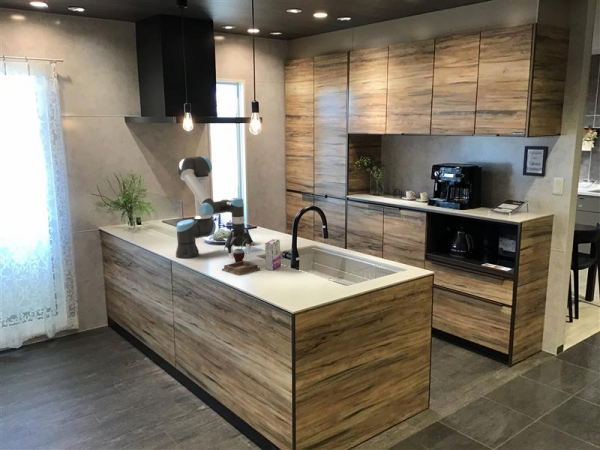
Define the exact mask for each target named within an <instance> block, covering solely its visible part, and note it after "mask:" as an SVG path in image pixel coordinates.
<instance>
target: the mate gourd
mask: <svg viewBox="0 0 600 450" xmlns="http://www.w3.org/2000/svg"><path fill="white" fill-rule="evenodd" d="M246 240H247V239H246ZM246 240H245V241H246ZM245 241H244V242H245ZM244 242H243V244H241V248H235V249H234V250H233V259H234V261H235V262H234V263H236V262H240V261H244V258H245V256H246V255H245V250H244V249H243V247H244V245H245V244H244Z"/></svg>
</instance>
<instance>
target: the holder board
mask: <svg viewBox="0 0 600 450" xmlns="http://www.w3.org/2000/svg"><path fill="white" fill-rule="evenodd" d="M260 270H261V268H260V267H258V264H255V263H252V262H248V261H245V260H243V261H240V262H236V263H235V262H232V263H230V264H229V263H228V264H224V265H223V268H221V271H223V272H226V273H230V274H233V275H236V276H242V275H246V274H249V273H253V272H257V271H260Z"/></svg>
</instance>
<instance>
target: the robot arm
mask: <svg viewBox="0 0 600 450" xmlns="http://www.w3.org/2000/svg"><path fill="white" fill-rule="evenodd" d="M176 168H177V169H176V171H177V174H178V175H177V176H178V177H179V178H180V180H182V181H184V183H185V184H186V186H187V187H188V188H189V190H190V191H191V192H192V194H193V195H194V201H195V202H194V203H195V205H194V206H195V216H194V217H193V219H184V220H180V221H179V222H177V224H176V229H175V230H176V236H177V247H176V251H175V257H176V258H179V259H190V258H191V259H192V258H196V257H198V256H199V255H200V251H199V249H198V246H197V244H196V239H201V238H208V237H210V236H213V235H214V233H216V228H217V227H216V224H217V223H216V222H215V219H213V218H212V215H217V214H224V213H231V223H232V224H231V226H232V230H233V232H231V231H229V232H228V236H227V239H226V242H225V245H224V248H226V249H227V252H228V258H229V259H234V256H233V253H234V250H233V246H234V242H235V240H236V239H237V238H243V239H244V240H246V239H247V238H248V239H247V240H246V244H245V247H246V249H245V250H246V251H245V252H246V255H249V256H250V255H251V247H252V246H251V245H252V244H253V243H254V240H253V239H252V238H253V237H252V236H251V234H250V232H249V229H248V228H246V226H245V209H244V208H245V206H244V199H243V198H242V197H233V198H231V199H230V200H229V199H221V200H218V201H214V200H213V199H212V197H211V196H210V195H209V193H208V180H207V179H208V178H209V176H210V175H209V174H210V173H211V172H212V169H213V166H212V162H211V160H210V159H209V158H208V157H207V156H202V155H201V156H191V157H189V156H188V157H184V158H182V159H181V160H179V162H178V164H177V167H176ZM244 228H246V229H245V230H244ZM244 232H245V234H246V236H247V238H246V236H245V235H244ZM232 236H233V237H232Z"/></svg>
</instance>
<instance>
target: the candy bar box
mask: <svg viewBox="0 0 600 450" xmlns="http://www.w3.org/2000/svg"><path fill="white" fill-rule="evenodd" d="M280 241H281V240H280V239H277V238H276V239H275V238H273V239H270V240H269V241H267V242H265V243H264V246H265V247H264V248H265V268H266V269H265V270H266V271H275V270H276V269H278V268H279V267H281V266H282V264H281V263H282V261H281V244H280V243H281V242H280Z"/></svg>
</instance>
